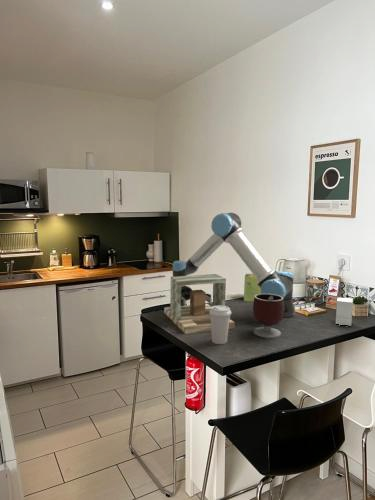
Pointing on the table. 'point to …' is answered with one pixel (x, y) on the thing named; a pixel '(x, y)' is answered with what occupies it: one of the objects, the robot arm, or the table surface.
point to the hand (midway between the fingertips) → (198, 302)
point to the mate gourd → (268, 314)
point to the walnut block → (197, 302)
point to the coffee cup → (220, 323)
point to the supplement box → (344, 311)
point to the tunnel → (182, 313)
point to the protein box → (251, 287)
